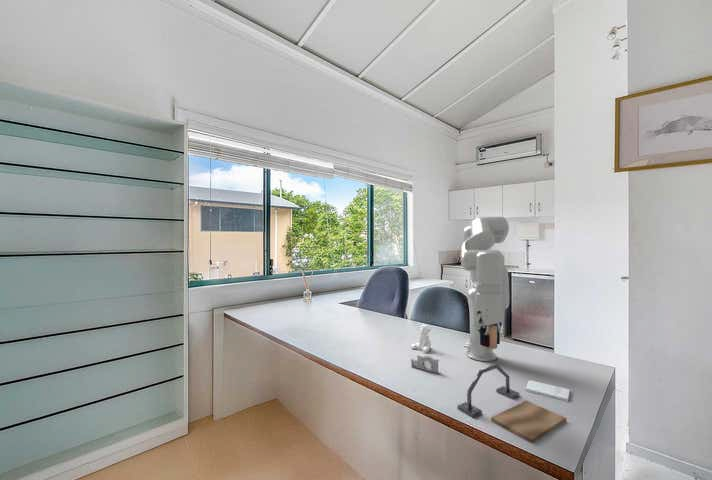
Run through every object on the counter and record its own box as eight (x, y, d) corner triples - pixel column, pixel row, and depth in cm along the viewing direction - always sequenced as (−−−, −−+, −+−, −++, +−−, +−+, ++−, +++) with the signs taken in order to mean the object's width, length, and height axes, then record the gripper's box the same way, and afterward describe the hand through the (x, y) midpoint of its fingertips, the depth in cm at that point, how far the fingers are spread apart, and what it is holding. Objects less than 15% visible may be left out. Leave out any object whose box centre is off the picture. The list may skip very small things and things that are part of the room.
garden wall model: (410, 366, 133) (410, 352, 133) (412, 365, 135) (412, 351, 135) (437, 373, 126) (437, 358, 126) (439, 371, 128) (439, 357, 128)
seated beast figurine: (410, 348, 155) (409, 324, 155) (420, 344, 161) (420, 321, 161) (426, 353, 148) (425, 328, 148) (436, 349, 154) (436, 324, 154)
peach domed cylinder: (479, 346, 104) (479, 324, 104) (488, 343, 106) (488, 322, 106) (491, 349, 100) (491, 328, 100) (500, 347, 102) (499, 325, 102)
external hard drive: (529, 383, 117) (569, 393, 110) (525, 392, 111) (568, 403, 103) (529, 379, 117) (569, 388, 110) (525, 388, 111) (568, 398, 103)
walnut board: (491, 420, 93) (491, 417, 93) (525, 403, 102) (525, 400, 102) (531, 443, 83) (531, 439, 83) (566, 421, 92) (566, 417, 92)
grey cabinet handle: (457, 408, 100) (456, 372, 100) (503, 388, 112) (502, 356, 112) (473, 417, 95) (472, 379, 95) (519, 395, 107) (518, 361, 107)
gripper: (494, 285, 111) (495, 337, 111) (462, 290, 102) (463, 346, 102) (515, 288, 104) (516, 342, 104) (482, 293, 96) (483, 353, 96)
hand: (489, 343), depth 103 cm, fingers closed on peach domed cylinder, 4 cm apart
